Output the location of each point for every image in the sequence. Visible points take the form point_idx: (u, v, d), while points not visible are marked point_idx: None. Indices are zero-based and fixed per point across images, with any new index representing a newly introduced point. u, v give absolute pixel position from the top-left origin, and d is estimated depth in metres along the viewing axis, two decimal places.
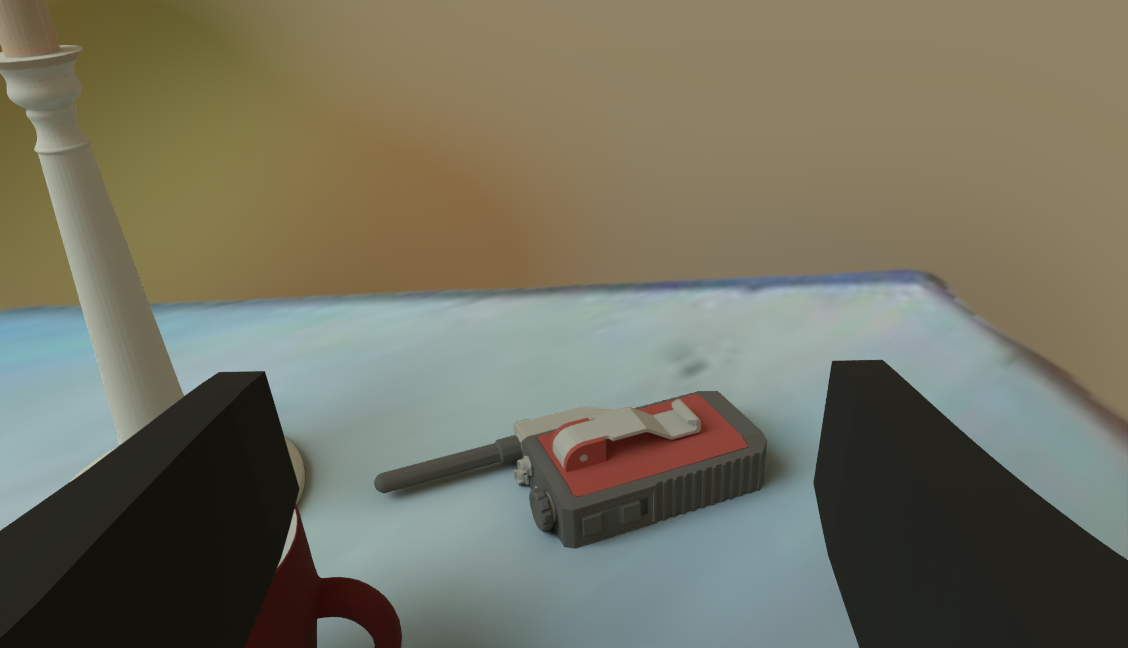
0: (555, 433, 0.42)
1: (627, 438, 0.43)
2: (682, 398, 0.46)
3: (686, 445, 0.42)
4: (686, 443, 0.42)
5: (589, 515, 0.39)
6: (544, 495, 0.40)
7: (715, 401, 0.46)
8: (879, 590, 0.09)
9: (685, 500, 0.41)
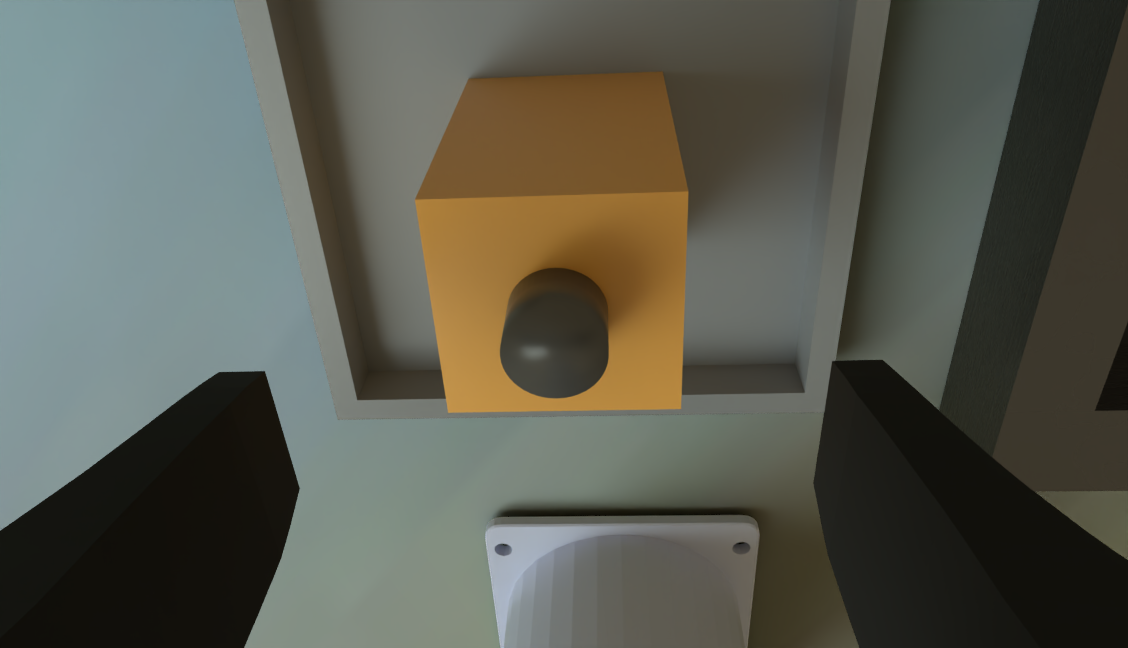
0: None
1: None
2: None
3: None
4: None
5: None
6: None
7: None
8: (879, 589, 0.09)
9: None
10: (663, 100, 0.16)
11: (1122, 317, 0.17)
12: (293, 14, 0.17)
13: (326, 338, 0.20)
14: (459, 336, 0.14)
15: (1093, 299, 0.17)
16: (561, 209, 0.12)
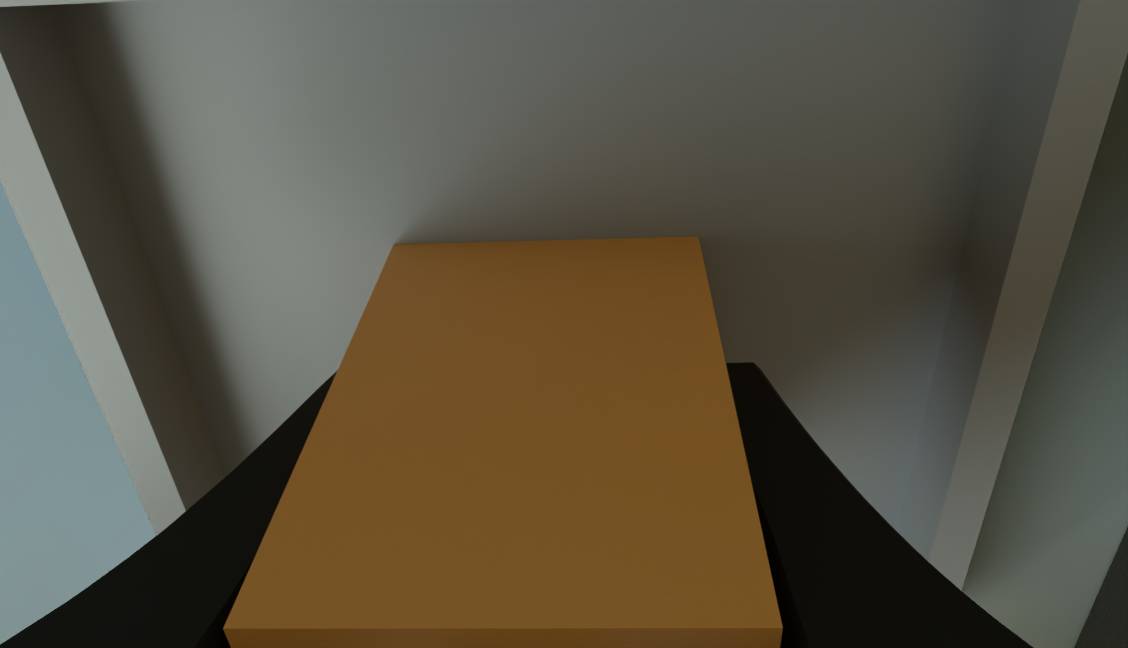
0: None
1: None
2: None
3: None
4: None
5: None
6: None
7: None
8: None
9: None
10: (705, 312, 0.09)
11: None
12: (111, 149, 0.11)
13: None
14: None
15: None
16: None
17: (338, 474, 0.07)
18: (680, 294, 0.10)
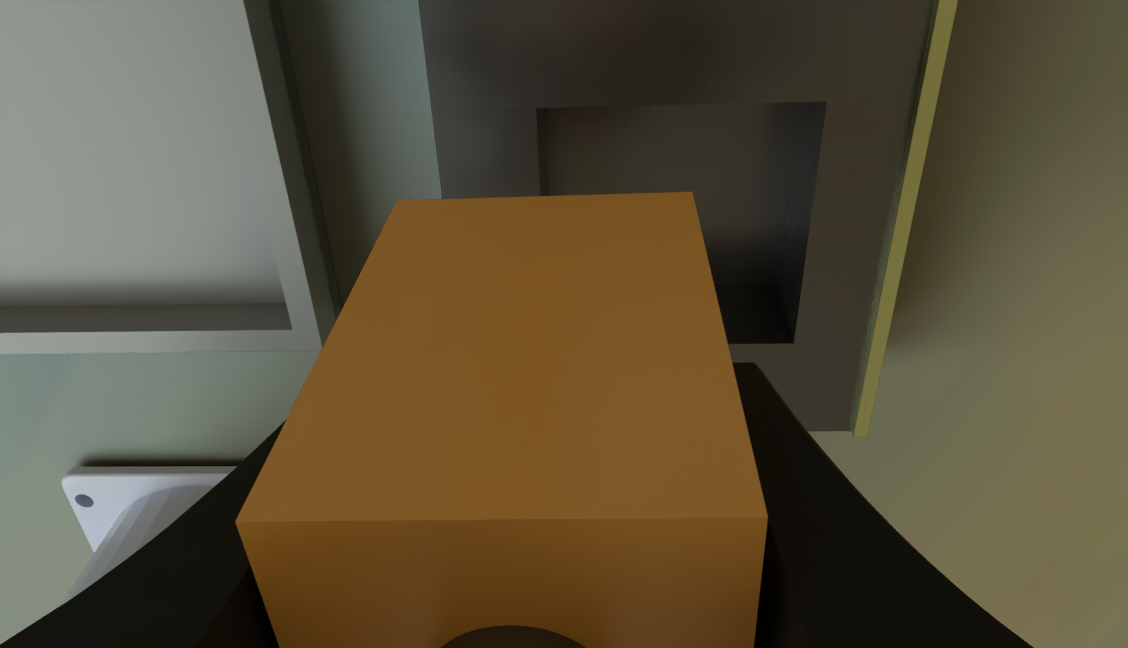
0: None
1: None
2: None
3: None
4: None
5: None
6: None
7: None
8: None
9: None
10: (698, 256, 0.10)
11: None
12: None
13: None
14: None
15: None
16: (517, 542, 0.06)
17: (344, 393, 0.08)
18: (674, 240, 0.10)
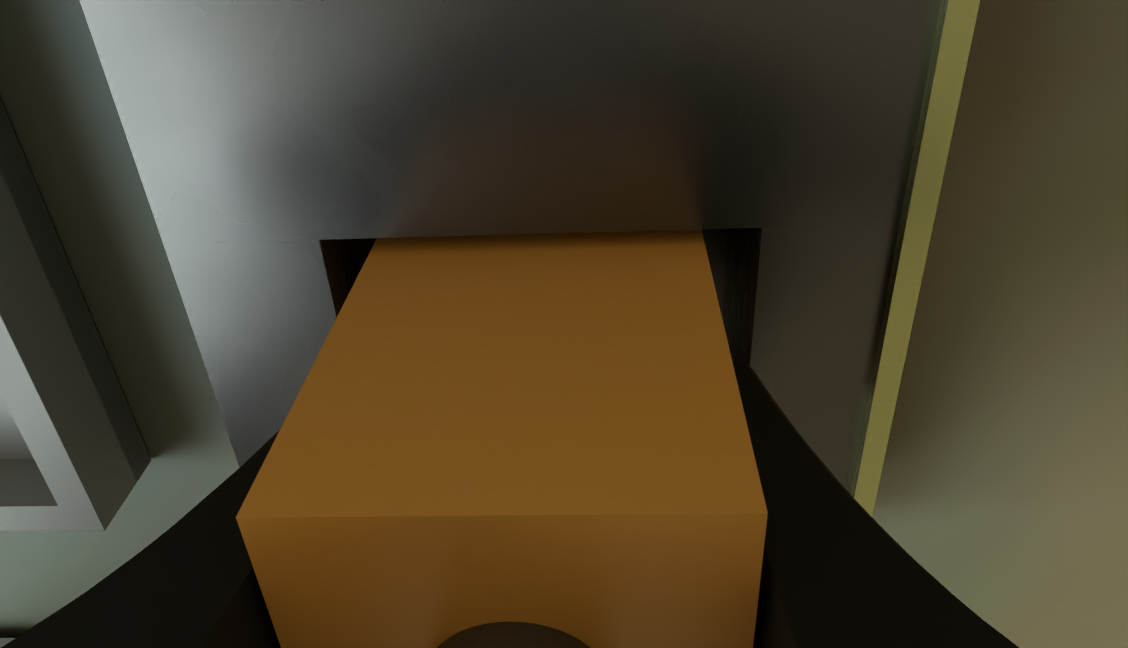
0: None
1: None
2: None
3: None
4: None
5: None
6: None
7: None
8: None
9: None
10: (698, 253, 0.10)
11: None
12: None
13: None
14: None
15: (293, 396, 0.11)
16: (518, 537, 0.06)
17: (344, 390, 0.08)
18: (674, 238, 0.10)
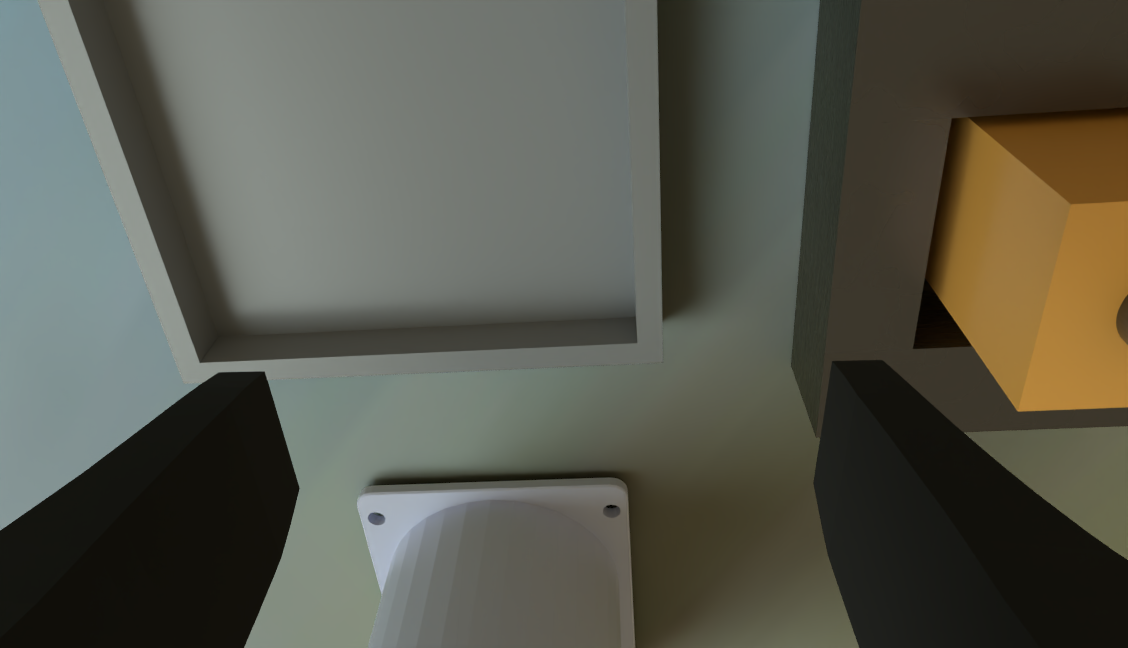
0: None
1: None
2: None
3: None
4: None
5: None
6: None
7: None
8: (878, 590, 0.09)
9: None
10: None
11: (922, 250, 0.17)
12: None
13: (160, 299, 0.20)
14: (1059, 336, 0.14)
15: (890, 232, 0.17)
16: None
17: (1052, 164, 0.14)
18: None
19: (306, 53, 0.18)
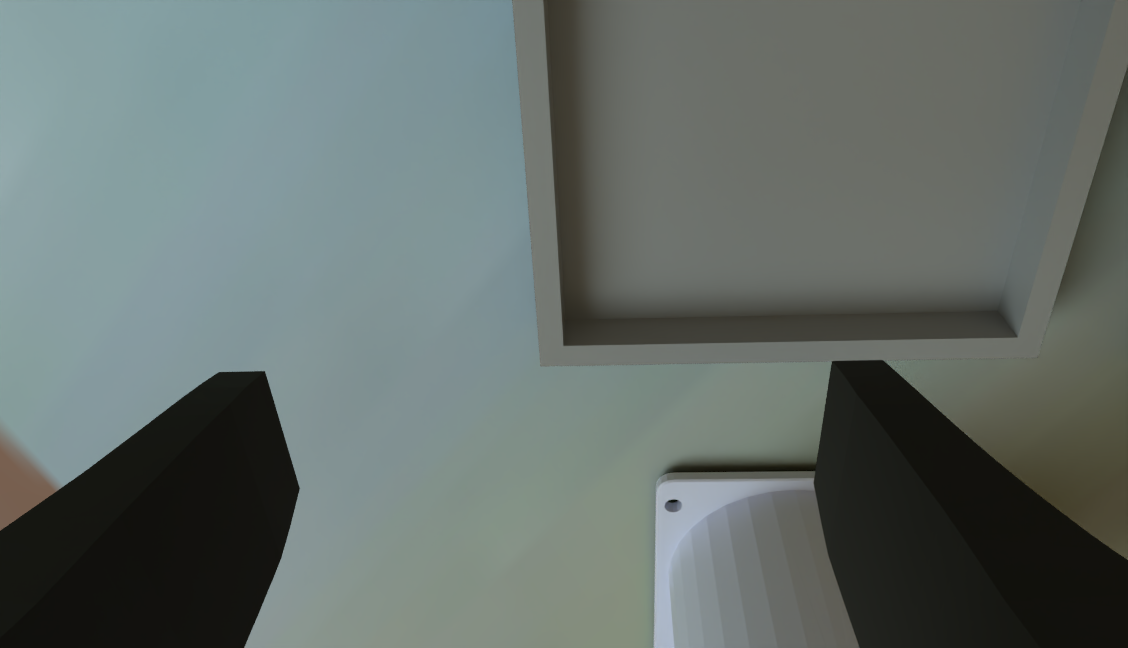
0: None
1: None
2: None
3: None
4: None
5: None
6: None
7: None
8: (878, 590, 0.09)
9: None
10: None
11: None
12: None
13: (543, 281, 0.20)
14: None
15: None
16: None
17: None
18: None
19: (741, 35, 0.18)
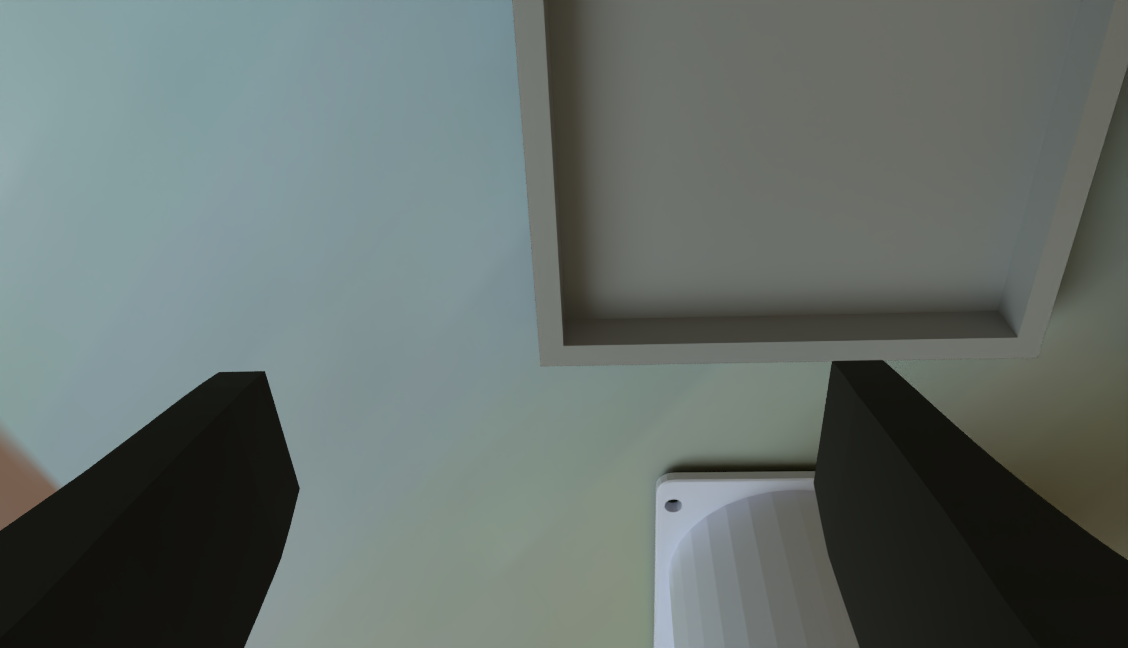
0: None
1: None
2: None
3: None
4: None
5: None
6: None
7: None
8: (878, 590, 0.09)
9: None
10: None
11: None
12: None
13: (543, 281, 0.20)
14: None
15: None
16: None
17: None
18: None
19: (741, 35, 0.18)
